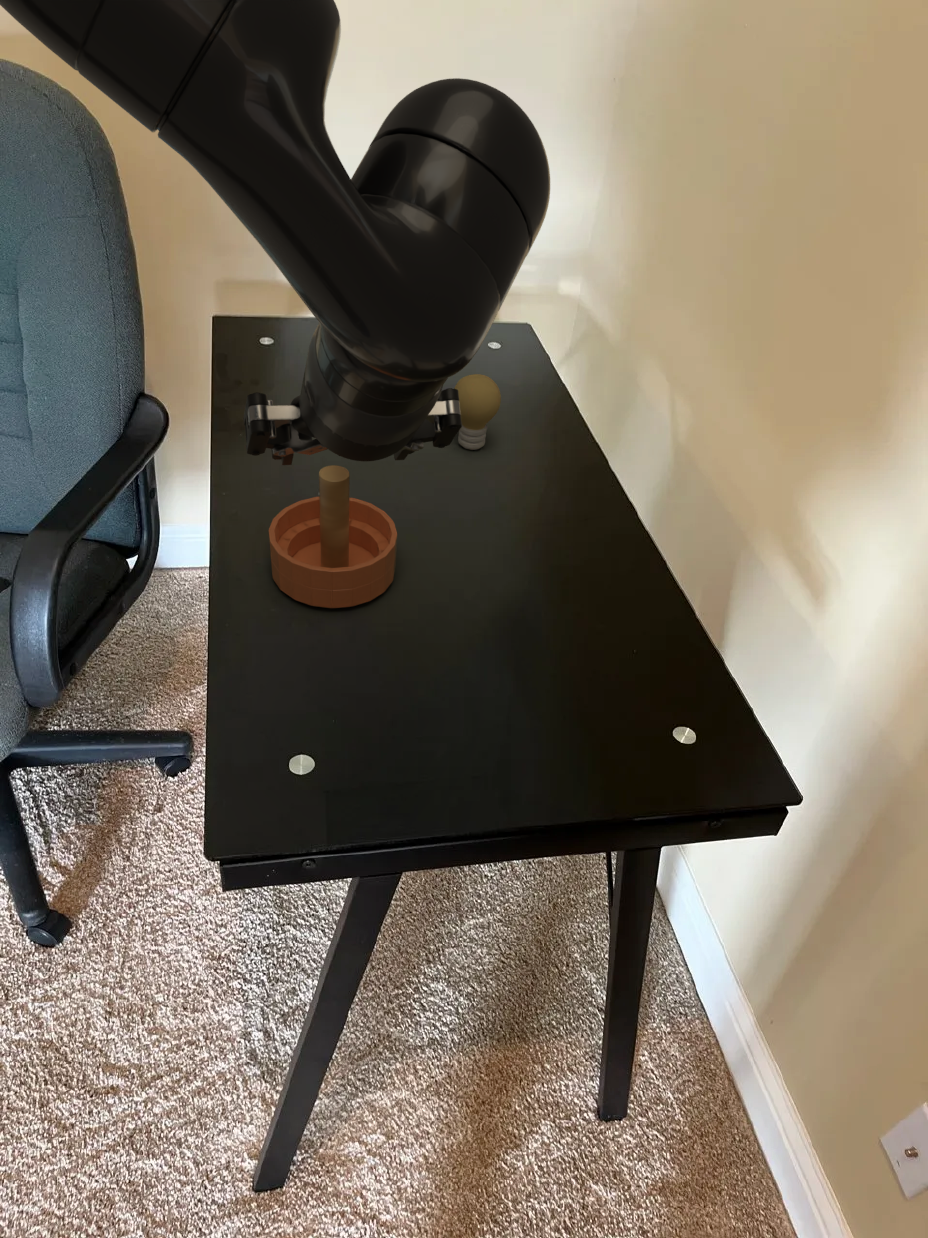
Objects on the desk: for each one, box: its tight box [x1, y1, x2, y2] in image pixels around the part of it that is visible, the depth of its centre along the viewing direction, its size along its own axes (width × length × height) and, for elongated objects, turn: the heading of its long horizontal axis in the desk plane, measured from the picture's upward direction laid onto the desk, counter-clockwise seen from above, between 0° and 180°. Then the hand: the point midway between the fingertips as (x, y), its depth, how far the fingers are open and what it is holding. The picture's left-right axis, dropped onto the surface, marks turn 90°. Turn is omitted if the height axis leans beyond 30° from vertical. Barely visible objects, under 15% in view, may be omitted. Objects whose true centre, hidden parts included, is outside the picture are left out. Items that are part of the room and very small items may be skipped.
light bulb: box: [453, 373, 502, 451], centre depth 110 cm, size 6×6×10 cm
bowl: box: [268, 496, 398, 609], centre depth 88 cm, size 13×13×6 cm
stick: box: [318, 464, 350, 568], centre depth 86 cm, size 3×3×12 cm
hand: (341, 449), depth 63 cm, fingers open, 8 cm apart
